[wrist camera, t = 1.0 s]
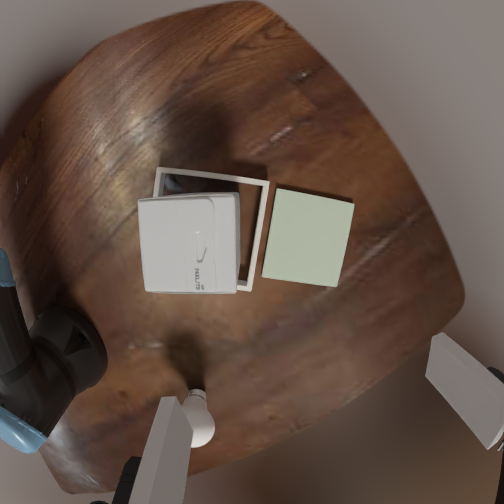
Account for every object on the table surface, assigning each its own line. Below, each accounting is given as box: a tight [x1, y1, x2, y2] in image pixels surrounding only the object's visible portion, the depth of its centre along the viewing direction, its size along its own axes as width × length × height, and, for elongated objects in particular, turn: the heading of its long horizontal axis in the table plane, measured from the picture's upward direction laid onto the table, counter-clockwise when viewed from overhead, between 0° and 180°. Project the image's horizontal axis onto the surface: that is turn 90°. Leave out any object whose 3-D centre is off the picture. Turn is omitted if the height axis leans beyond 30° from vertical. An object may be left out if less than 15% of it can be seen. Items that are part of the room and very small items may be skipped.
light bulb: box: [180, 389, 215, 447], centre depth 34 cm, size 7×7×11 cm
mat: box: [261, 188, 354, 287], centre depth 34 cm, size 10×11×1 cm
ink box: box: [138, 192, 240, 294], centre depth 28 cm, size 9×8×12 cm
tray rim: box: [153, 167, 270, 292], centre depth 32 cm, size 13×13×2 cm
